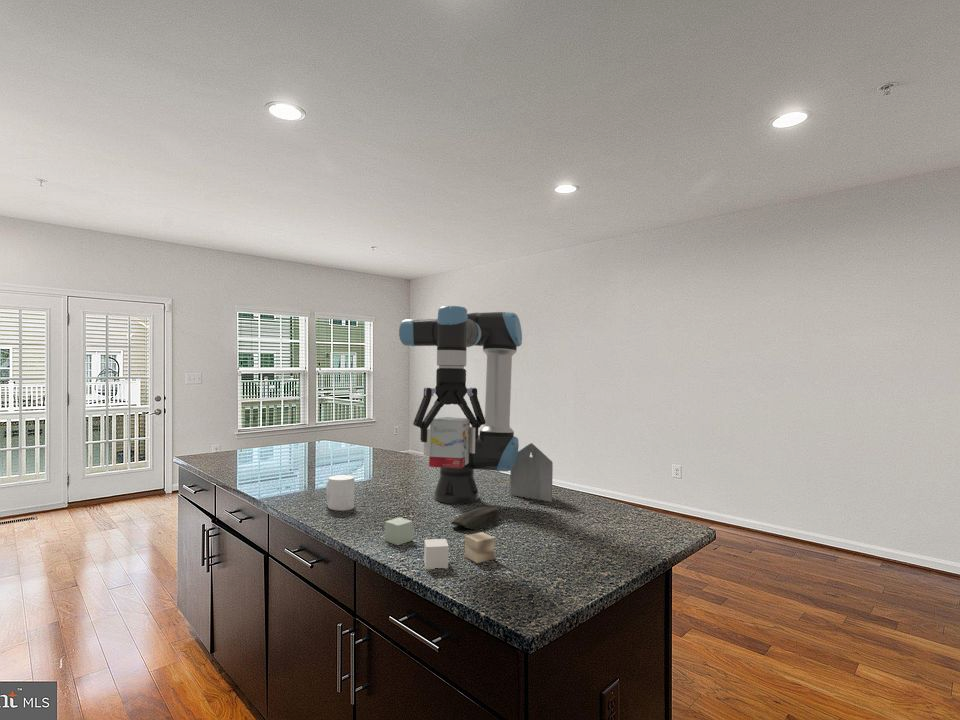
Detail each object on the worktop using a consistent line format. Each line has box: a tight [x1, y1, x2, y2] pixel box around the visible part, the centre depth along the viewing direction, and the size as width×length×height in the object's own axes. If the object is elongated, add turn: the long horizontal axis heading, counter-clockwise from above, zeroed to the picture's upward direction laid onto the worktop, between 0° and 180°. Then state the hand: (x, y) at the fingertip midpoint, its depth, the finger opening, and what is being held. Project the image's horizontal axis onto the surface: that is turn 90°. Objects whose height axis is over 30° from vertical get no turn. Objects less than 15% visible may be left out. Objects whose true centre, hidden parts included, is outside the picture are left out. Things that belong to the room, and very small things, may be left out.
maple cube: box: [464, 532, 495, 564], centre depth 120 cm, size 5×5×5 cm
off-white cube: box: [423, 538, 450, 570], centre depth 115 cm, size 5×5×5 cm
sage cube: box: [384, 516, 414, 546], centre depth 131 cm, size 5×5×5 cm
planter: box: [509, 442, 554, 503], centre depth 180 cm, size 16×8×19 cm, turn 58°
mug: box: [325, 474, 356, 511], centre depth 163 cm, size 12×9×8 cm
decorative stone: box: [450, 506, 501, 530], centre depth 146 cm, size 17×6×4 cm, turn 139°
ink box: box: [428, 416, 471, 468], centre depth 128 cm, size 9×9×12 cm
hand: (449, 454), depth 128 cm, fingers closed on ink box, 11 cm apart
